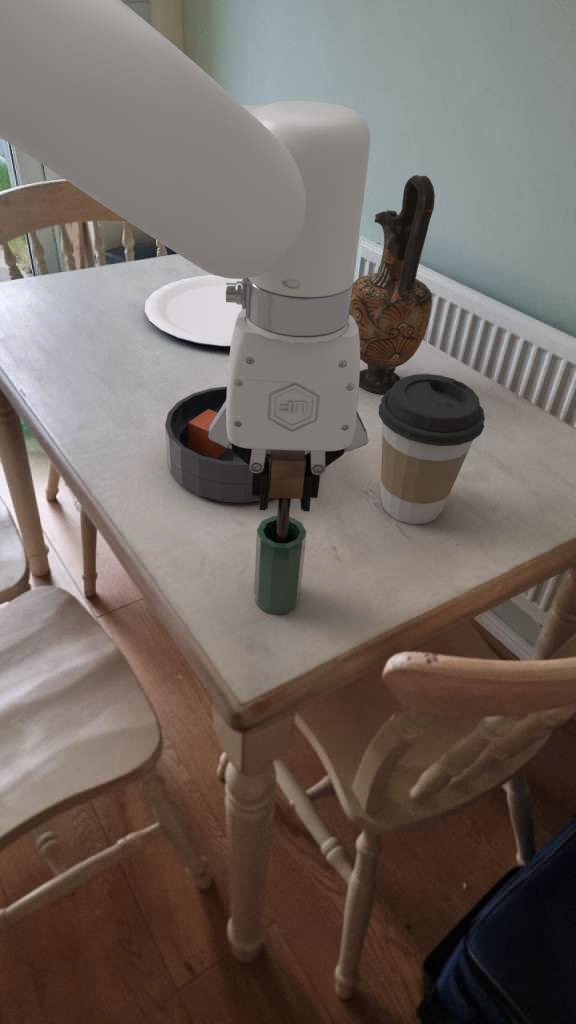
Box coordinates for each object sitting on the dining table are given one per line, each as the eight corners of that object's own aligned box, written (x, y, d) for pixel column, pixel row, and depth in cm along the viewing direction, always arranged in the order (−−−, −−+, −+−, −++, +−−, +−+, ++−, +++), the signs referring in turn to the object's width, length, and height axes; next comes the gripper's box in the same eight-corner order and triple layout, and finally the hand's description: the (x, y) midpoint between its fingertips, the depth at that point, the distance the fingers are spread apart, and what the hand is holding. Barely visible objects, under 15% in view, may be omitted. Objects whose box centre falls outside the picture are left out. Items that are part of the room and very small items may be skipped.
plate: (184, 368, 104) (183, 358, 103) (121, 295, 124) (120, 286, 122) (346, 336, 116) (347, 326, 115) (266, 274, 135) (266, 265, 134)
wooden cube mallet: (263, 605, 68) (271, 460, 57) (262, 582, 70) (271, 438, 59) (291, 606, 68) (306, 461, 57) (290, 582, 70) (304, 439, 59)
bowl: (143, 485, 82) (139, 443, 78) (202, 414, 95) (201, 375, 91) (281, 521, 79) (284, 479, 75) (322, 442, 91) (326, 403, 88)
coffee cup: (478, 513, 82) (512, 403, 72) (412, 550, 76) (440, 436, 67) (409, 466, 88) (431, 359, 79) (343, 497, 83) (359, 386, 73)
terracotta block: (189, 449, 87) (188, 422, 85) (208, 435, 90) (208, 408, 87) (214, 460, 86) (213, 433, 83) (233, 446, 88) (233, 419, 86)
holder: (248, 608, 68) (250, 540, 62) (263, 577, 72) (267, 510, 66) (290, 620, 67) (296, 553, 62) (304, 588, 71) (311, 521, 65)
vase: (400, 362, 110) (437, 156, 91) (429, 403, 101) (477, 182, 82) (329, 366, 108) (352, 155, 89) (352, 408, 99) (383, 182, 79)
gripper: (178, 319, 46) (187, 526, 58) (419, 330, 47) (380, 531, 59) (187, 277, 52) (194, 473, 64) (402, 287, 53) (369, 478, 65)
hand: (283, 499), depth 61 cm, fingers open, 3 cm apart
